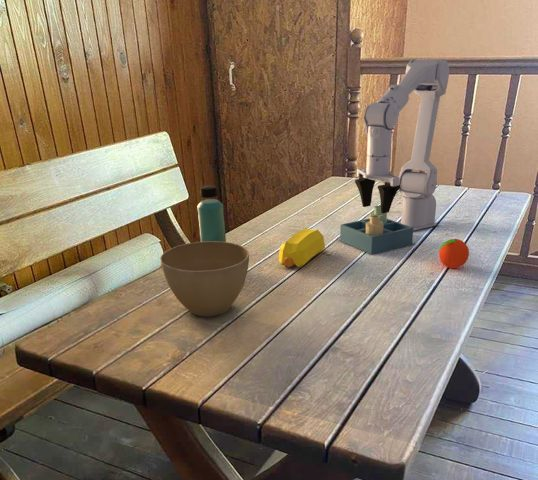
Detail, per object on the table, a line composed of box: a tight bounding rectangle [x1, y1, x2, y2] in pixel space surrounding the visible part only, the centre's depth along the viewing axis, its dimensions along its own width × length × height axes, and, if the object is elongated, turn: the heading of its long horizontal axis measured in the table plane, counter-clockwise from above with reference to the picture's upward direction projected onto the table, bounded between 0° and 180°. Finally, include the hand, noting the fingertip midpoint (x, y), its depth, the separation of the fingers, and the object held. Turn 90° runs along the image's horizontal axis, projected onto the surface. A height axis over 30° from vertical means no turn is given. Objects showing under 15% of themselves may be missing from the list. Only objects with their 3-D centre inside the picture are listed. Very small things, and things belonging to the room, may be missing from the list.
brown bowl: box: [160, 241, 250, 317], centre depth 122 cm, size 18×18×12 cm
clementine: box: [438, 238, 470, 269], centre depth 139 cm, size 8×7×7 cm
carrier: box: [339, 217, 414, 255], centre depth 158 cm, size 14×14×5 cm
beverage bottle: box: [196, 185, 227, 242], centre depth 142 cm, size 6×7×20 cm
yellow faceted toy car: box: [278, 227, 326, 269], centre depth 148 cm, size 18×7×8 cm
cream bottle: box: [366, 215, 384, 236], centre depth 153 cm, size 4×5×8 cm
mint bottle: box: [369, 205, 388, 224], centre depth 161 cm, size 4×5×8 cm
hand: (375, 209), depth 150 cm, fingers open, 7 cm apart
